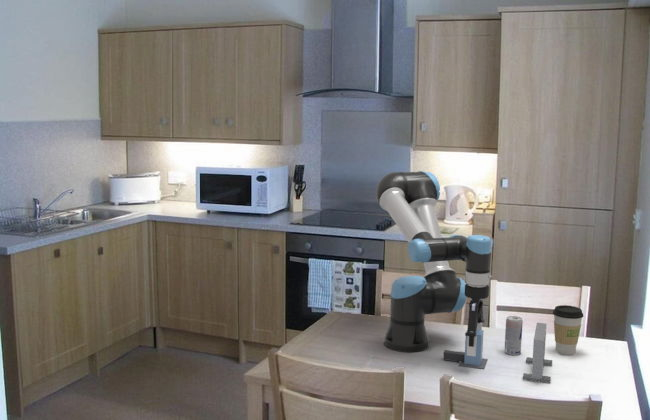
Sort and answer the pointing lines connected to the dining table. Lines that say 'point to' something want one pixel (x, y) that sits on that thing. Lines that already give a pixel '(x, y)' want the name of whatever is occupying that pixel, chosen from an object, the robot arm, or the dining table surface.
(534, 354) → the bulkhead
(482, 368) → the mat
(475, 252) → the robot arm
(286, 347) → the dining table surface
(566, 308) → the coffee cup
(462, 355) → the plug
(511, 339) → the energy drink
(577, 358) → the dining table surface
